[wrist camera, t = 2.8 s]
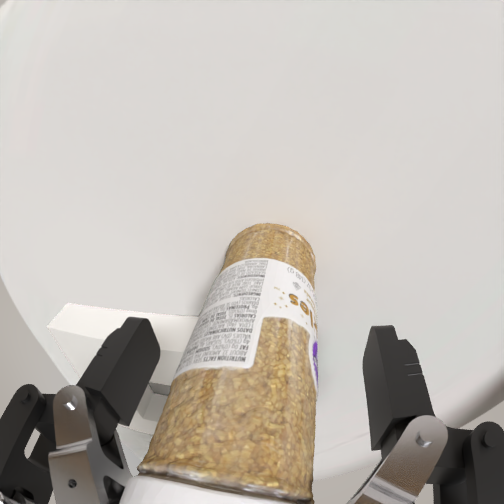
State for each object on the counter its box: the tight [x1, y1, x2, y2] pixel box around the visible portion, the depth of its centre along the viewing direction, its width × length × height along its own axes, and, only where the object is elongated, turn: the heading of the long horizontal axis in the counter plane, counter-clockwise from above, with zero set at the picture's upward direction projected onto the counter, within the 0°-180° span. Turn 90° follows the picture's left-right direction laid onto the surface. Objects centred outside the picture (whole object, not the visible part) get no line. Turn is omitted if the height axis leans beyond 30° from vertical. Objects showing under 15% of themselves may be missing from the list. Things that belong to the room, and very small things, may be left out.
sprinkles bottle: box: [119, 223, 318, 504], centre depth 9 cm, size 5×5×14 cm
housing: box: [47, 303, 199, 435], centre depth 20 cm, size 16×14×3 cm
